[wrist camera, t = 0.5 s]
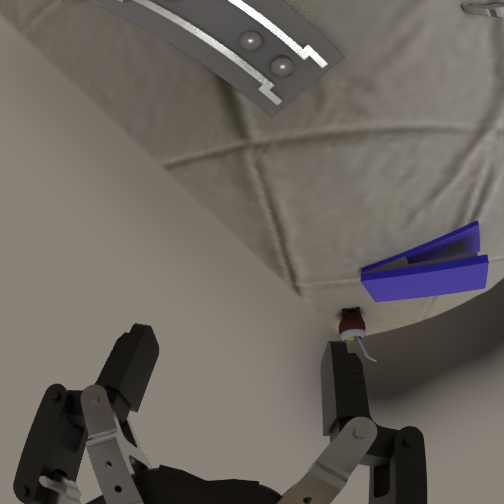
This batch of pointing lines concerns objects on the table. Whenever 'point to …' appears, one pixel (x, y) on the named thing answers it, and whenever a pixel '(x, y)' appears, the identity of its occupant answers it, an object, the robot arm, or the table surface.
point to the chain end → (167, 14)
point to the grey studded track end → (253, 42)
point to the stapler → (430, 268)
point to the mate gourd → (353, 327)
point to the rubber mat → (228, 31)
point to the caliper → (485, 9)
